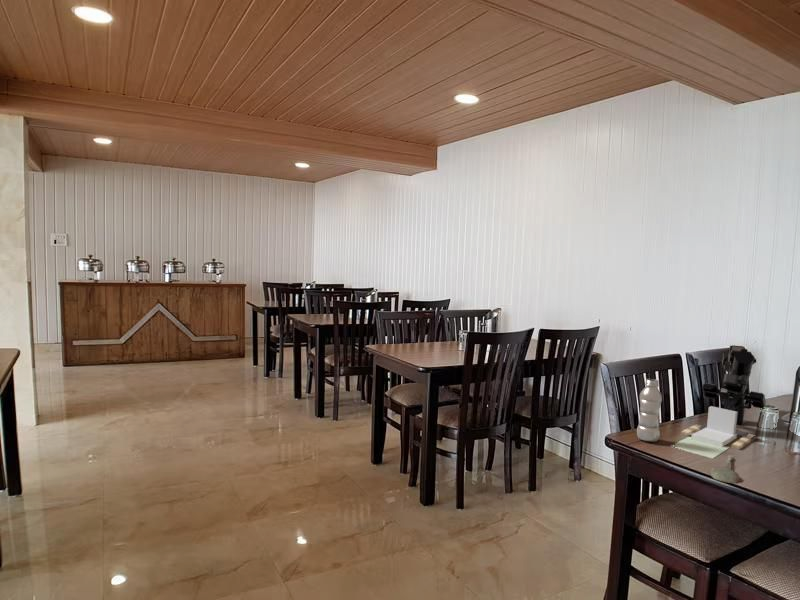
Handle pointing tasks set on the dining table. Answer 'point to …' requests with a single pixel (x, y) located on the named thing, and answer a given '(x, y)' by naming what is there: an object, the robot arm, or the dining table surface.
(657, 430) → the plastic bottle
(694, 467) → the dining table surface
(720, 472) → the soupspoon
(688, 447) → the mat
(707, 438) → the white l-shaped bracket
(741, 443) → the channel
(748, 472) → the dining table surface
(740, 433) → the mat
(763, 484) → the dining table surface
